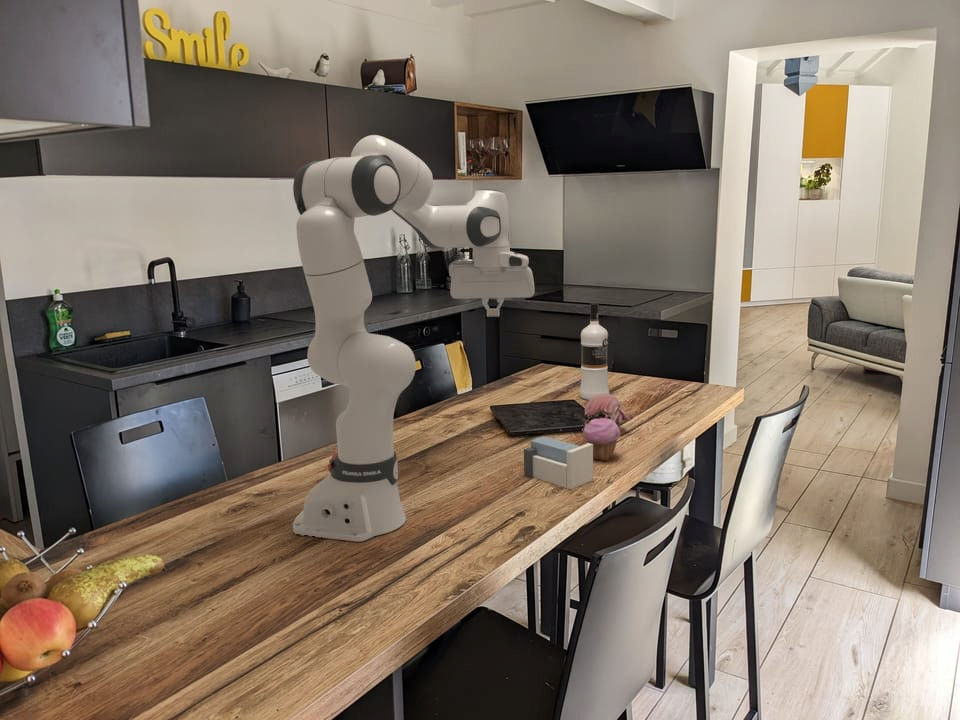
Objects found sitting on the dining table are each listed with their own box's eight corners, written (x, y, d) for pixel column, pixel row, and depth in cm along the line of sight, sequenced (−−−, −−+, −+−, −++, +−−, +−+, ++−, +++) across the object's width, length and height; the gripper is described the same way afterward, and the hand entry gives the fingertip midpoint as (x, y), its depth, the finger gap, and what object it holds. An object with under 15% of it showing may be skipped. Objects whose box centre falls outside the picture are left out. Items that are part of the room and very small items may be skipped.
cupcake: (577, 459, 191) (577, 420, 189) (594, 449, 198) (594, 411, 196) (609, 466, 186) (610, 426, 184) (626, 456, 193) (626, 417, 191)
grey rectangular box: (531, 472, 183) (530, 440, 181) (544, 467, 186) (543, 436, 184) (571, 485, 174) (570, 451, 173) (583, 479, 177) (583, 447, 176)
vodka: (591, 392, 254) (591, 300, 247) (615, 396, 247) (615, 302, 241) (573, 397, 247) (573, 303, 241) (597, 402, 241) (597, 306, 235)
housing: (524, 475, 181) (523, 440, 180) (550, 465, 188) (550, 431, 186) (568, 490, 172) (568, 453, 170) (595, 479, 178) (595, 443, 176)
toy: (628, 438, 201) (638, 419, 215) (615, 400, 200) (626, 383, 213) (585, 448, 206) (597, 428, 220) (572, 410, 205) (585, 393, 218)
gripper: (446, 261, 185) (448, 318, 188) (533, 259, 182) (534, 317, 185) (450, 258, 191) (452, 314, 194) (534, 256, 188) (535, 313, 191)
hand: (493, 316), depth 189 cm, fingers closed
